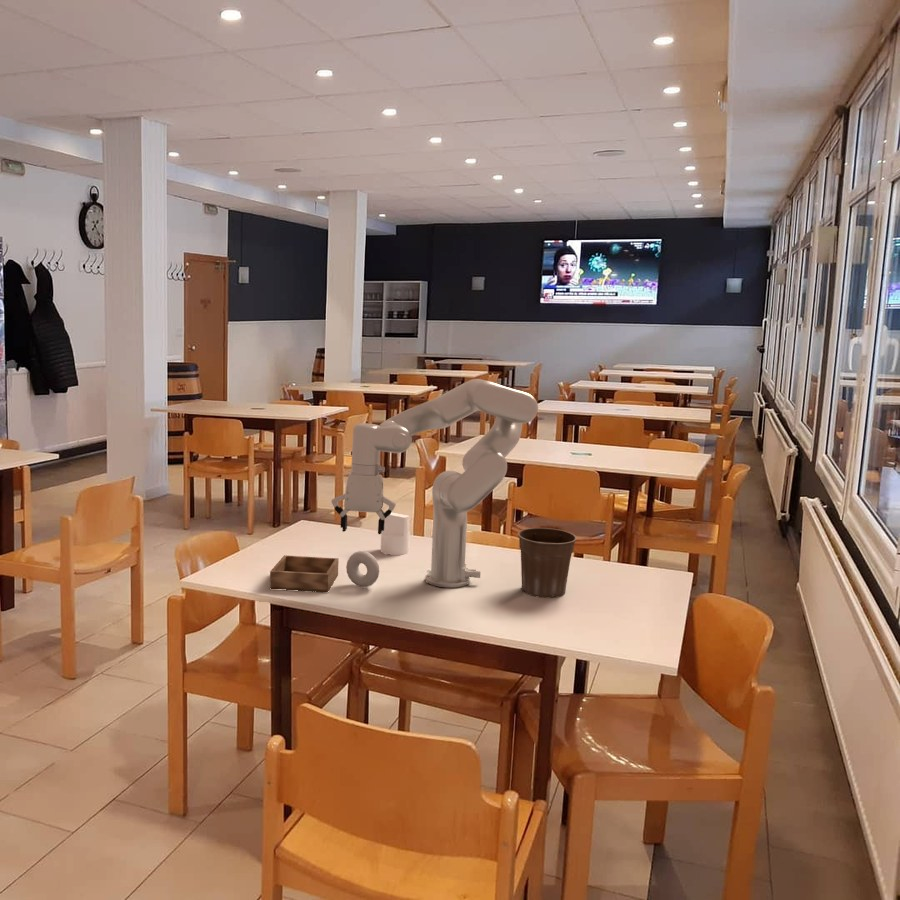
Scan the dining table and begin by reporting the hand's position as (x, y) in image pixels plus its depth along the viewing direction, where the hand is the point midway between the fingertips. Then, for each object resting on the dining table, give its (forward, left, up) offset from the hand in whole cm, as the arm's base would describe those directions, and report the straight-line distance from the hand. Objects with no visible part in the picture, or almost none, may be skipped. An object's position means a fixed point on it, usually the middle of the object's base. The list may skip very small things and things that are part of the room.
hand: (362, 531), depth 225 cm
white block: (-5, -37, -16) cm, 41 cm away
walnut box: (+16, -1, -16) cm, 22 cm away
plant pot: (-50, -5, -16) cm, 53 cm away
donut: (0, 0, -16) cm, 16 cm away
